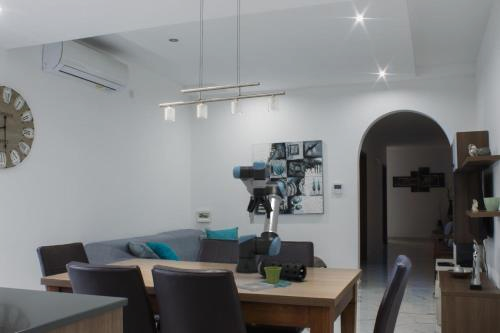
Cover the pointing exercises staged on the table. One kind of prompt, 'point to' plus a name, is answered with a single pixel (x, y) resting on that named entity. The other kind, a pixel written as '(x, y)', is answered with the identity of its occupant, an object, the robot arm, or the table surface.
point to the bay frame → (262, 285)
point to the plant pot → (272, 274)
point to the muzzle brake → (285, 270)
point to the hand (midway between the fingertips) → (259, 223)
